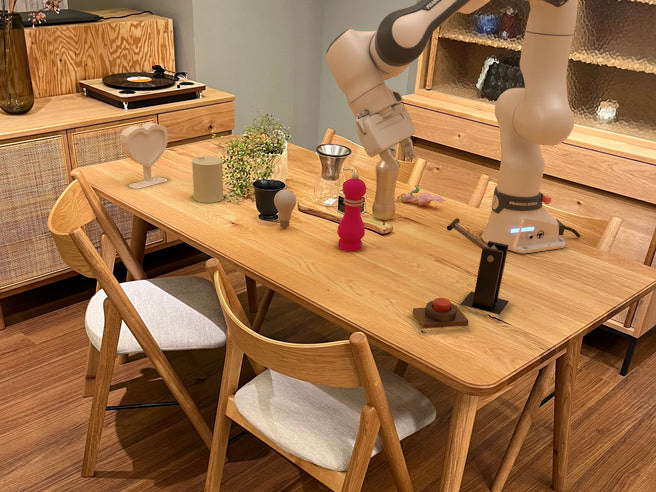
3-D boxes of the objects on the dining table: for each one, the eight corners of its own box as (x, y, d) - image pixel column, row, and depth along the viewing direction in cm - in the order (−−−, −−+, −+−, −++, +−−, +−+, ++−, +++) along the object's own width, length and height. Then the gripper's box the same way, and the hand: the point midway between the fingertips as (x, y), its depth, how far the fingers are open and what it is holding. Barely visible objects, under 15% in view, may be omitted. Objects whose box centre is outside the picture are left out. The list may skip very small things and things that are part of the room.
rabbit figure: (394, 206, 218) (439, 209, 210) (394, 187, 215) (439, 190, 207) (403, 201, 223) (448, 204, 214) (403, 182, 220) (448, 184, 212)
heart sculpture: (133, 190, 218) (127, 131, 209) (123, 186, 221) (117, 127, 212) (172, 179, 228) (168, 123, 219) (162, 176, 231) (158, 120, 222)
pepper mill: (361, 254, 182) (368, 178, 172) (334, 250, 183) (339, 175, 173) (365, 243, 188) (371, 170, 178) (338, 240, 189) (343, 167, 179)
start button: (446, 304, 152) (447, 297, 151) (452, 312, 149) (453, 304, 148) (430, 305, 151) (431, 298, 150) (436, 313, 148) (437, 305, 147)
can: (210, 191, 220) (209, 152, 214) (229, 198, 215) (229, 159, 209) (187, 197, 215) (185, 158, 208) (206, 205, 209) (204, 165, 203)
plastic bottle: (388, 224, 201) (395, 154, 191) (367, 218, 204) (373, 150, 194) (398, 217, 206) (405, 149, 196) (377, 212, 209) (383, 145, 199)
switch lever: (444, 230, 153) (449, 222, 151) (452, 223, 157) (458, 214, 155) (492, 266, 151) (499, 258, 149) (499, 257, 155) (506, 249, 153)
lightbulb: (278, 233, 192) (279, 194, 186) (270, 225, 197) (270, 187, 191) (298, 230, 194) (300, 192, 189) (290, 223, 199) (291, 185, 193)
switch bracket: (459, 309, 158) (469, 248, 150) (470, 295, 164) (480, 236, 156) (498, 319, 154) (511, 257, 147) (508, 305, 160) (521, 245, 153)
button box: (454, 314, 155) (457, 298, 153) (466, 330, 150) (469, 313, 148) (411, 317, 154) (414, 301, 152) (422, 333, 148) (424, 316, 146)
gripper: (364, 107, 141) (398, 168, 144) (403, 92, 157) (432, 147, 159) (341, 123, 145) (374, 182, 147) (381, 106, 161) (410, 160, 163)
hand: (404, 164), depth 153 cm, fingers open, 8 cm apart
